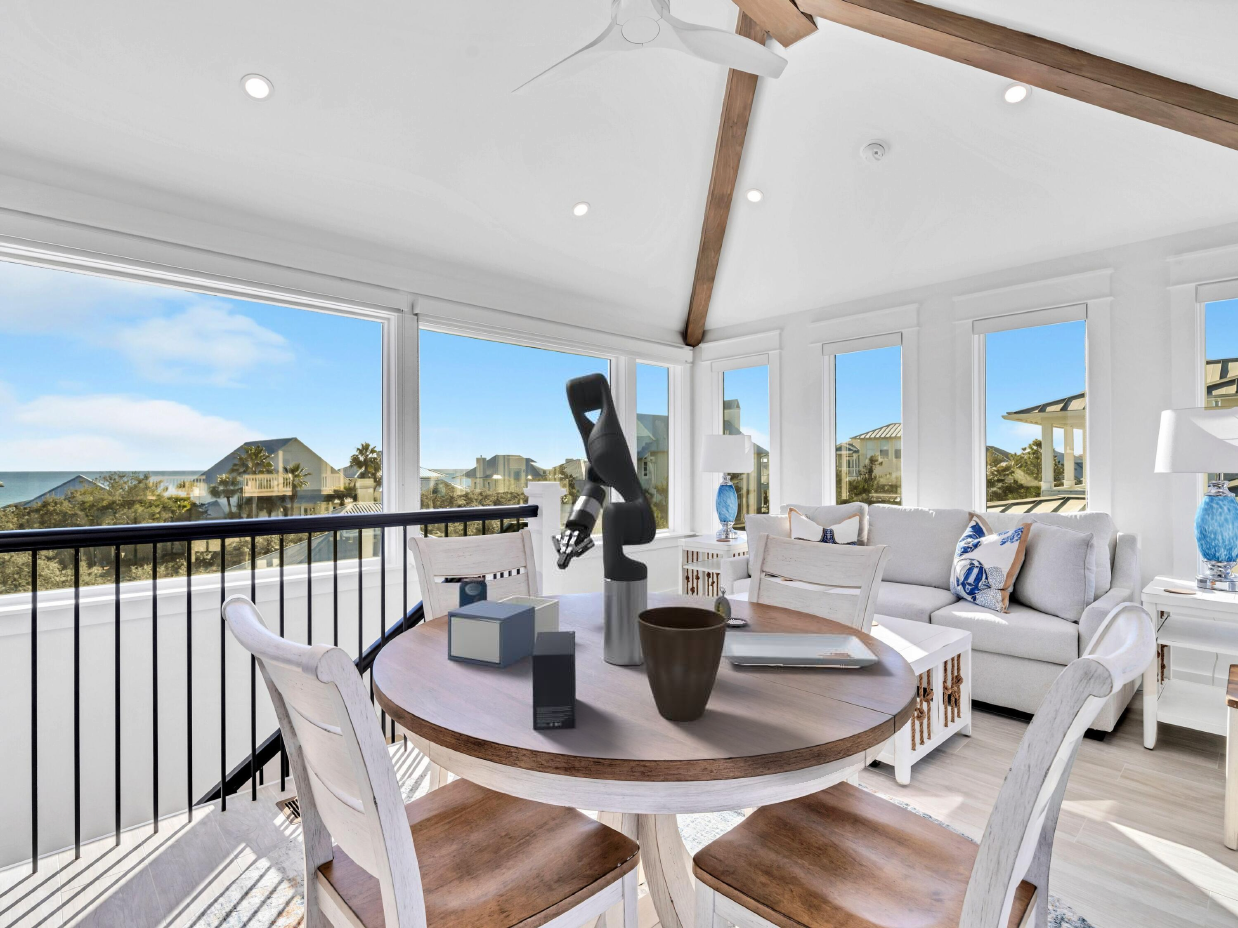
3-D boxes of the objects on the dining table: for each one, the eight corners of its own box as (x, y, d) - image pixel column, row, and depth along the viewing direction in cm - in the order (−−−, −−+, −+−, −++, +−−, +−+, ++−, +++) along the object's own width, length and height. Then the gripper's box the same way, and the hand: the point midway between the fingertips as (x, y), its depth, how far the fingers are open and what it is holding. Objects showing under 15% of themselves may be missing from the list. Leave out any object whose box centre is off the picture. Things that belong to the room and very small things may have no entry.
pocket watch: (751, 623, 161) (751, 585, 161) (739, 630, 154) (739, 590, 154) (721, 619, 166) (721, 581, 166) (708, 626, 159) (708, 587, 159)
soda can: (480, 629, 154) (481, 581, 154) (454, 628, 155) (454, 580, 155) (491, 622, 161) (491, 576, 161) (465, 621, 162) (465, 575, 162)
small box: (536, 698, 109) (537, 630, 109) (575, 697, 110) (576, 630, 110) (531, 730, 96) (531, 653, 96) (575, 729, 97) (576, 652, 97)
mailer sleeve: (534, 651, 136) (535, 606, 136) (502, 667, 125) (503, 618, 125) (482, 643, 142) (482, 600, 142) (447, 658, 131) (447, 611, 131)
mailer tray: (558, 633, 148) (558, 600, 148) (499, 662, 126) (499, 623, 126) (515, 627, 153) (515, 595, 153) (451, 655, 131) (451, 617, 131)
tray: (880, 675, 123) (880, 658, 123) (720, 670, 125) (720, 653, 125) (855, 650, 140) (855, 634, 140) (714, 646, 142) (714, 630, 142)
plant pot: (744, 711, 104) (744, 615, 104) (692, 740, 93) (693, 633, 93) (672, 689, 114) (672, 602, 114) (618, 713, 103) (618, 617, 103)
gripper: (558, 506, 172) (533, 557, 161) (600, 508, 166) (578, 560, 155) (567, 524, 177) (544, 574, 166) (609, 526, 171) (588, 578, 160)
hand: (561, 567), depth 161 cm, fingers closed
